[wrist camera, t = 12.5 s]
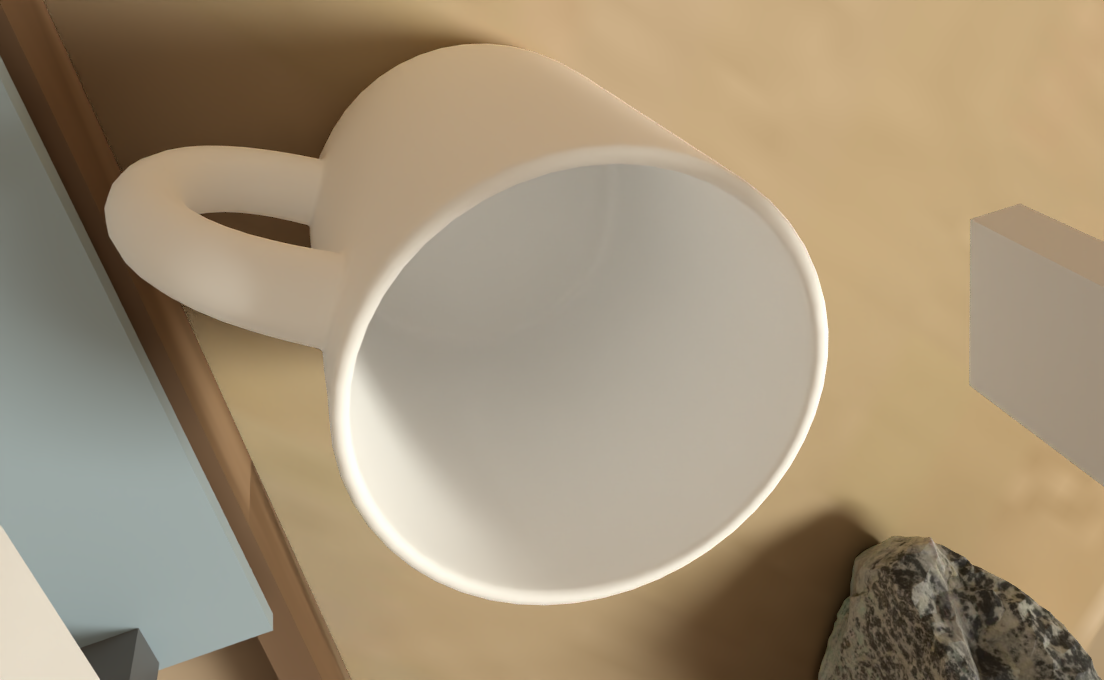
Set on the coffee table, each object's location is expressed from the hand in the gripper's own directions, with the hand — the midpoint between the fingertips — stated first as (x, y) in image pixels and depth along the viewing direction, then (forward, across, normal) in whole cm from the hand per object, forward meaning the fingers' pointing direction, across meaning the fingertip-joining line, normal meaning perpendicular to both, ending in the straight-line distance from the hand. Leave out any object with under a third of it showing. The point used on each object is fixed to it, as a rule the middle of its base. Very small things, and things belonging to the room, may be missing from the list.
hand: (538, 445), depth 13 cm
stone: (+13, +12, -22) cm, 28 cm away
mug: (+12, 0, 0) cm, 13 cm away
